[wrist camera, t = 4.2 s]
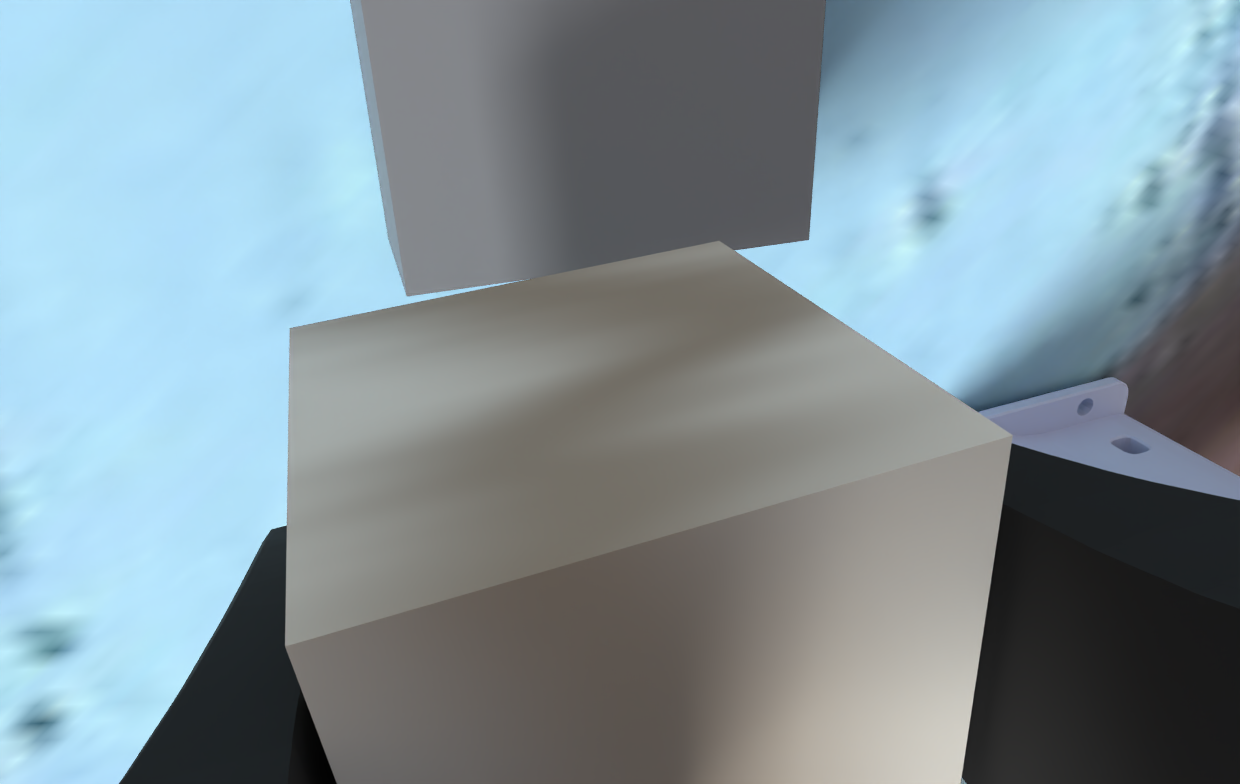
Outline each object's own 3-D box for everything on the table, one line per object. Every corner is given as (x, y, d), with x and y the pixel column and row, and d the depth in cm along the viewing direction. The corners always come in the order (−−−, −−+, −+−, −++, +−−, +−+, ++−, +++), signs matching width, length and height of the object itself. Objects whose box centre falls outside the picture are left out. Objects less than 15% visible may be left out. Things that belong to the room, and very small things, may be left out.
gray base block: (735, -207, 15) (844, -248, 12) (725, 194, 18) (808, 239, 15) (314, -213, 13) (319, -265, 10) (387, 235, 16) (406, 296, 13)
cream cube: (719, 241, 10) (1012, 435, 6) (731, 563, 13) (947, 865, 8) (289, 328, 9) (284, 647, 5) (392, 666, 12) (448, 1078, 7)
